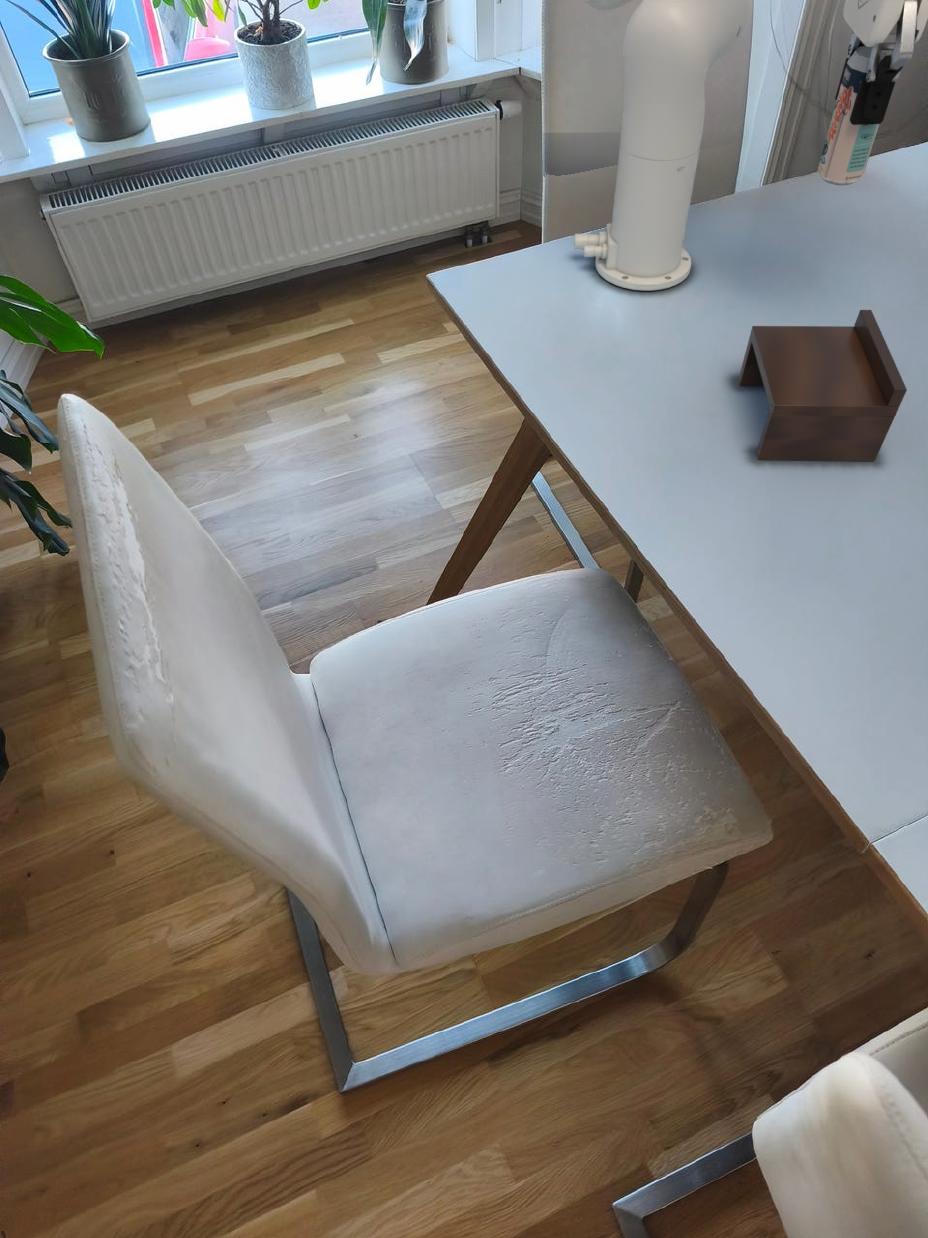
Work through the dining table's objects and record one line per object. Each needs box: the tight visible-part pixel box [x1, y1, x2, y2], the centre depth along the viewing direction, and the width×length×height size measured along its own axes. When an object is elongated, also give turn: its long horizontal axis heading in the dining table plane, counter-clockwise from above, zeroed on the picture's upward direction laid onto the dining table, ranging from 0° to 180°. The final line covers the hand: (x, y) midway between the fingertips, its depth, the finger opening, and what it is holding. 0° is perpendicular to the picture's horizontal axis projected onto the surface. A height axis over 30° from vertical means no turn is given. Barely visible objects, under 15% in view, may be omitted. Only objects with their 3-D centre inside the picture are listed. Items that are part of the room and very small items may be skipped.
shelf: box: [737, 309, 908, 463], centre depth 90 cm, size 12×14×9 cm
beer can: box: [816, 46, 893, 186], centre depth 88 cm, size 5×5×12 cm
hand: (858, 109), depth 88 cm, fingers closed on beer can, 4 cm apart
